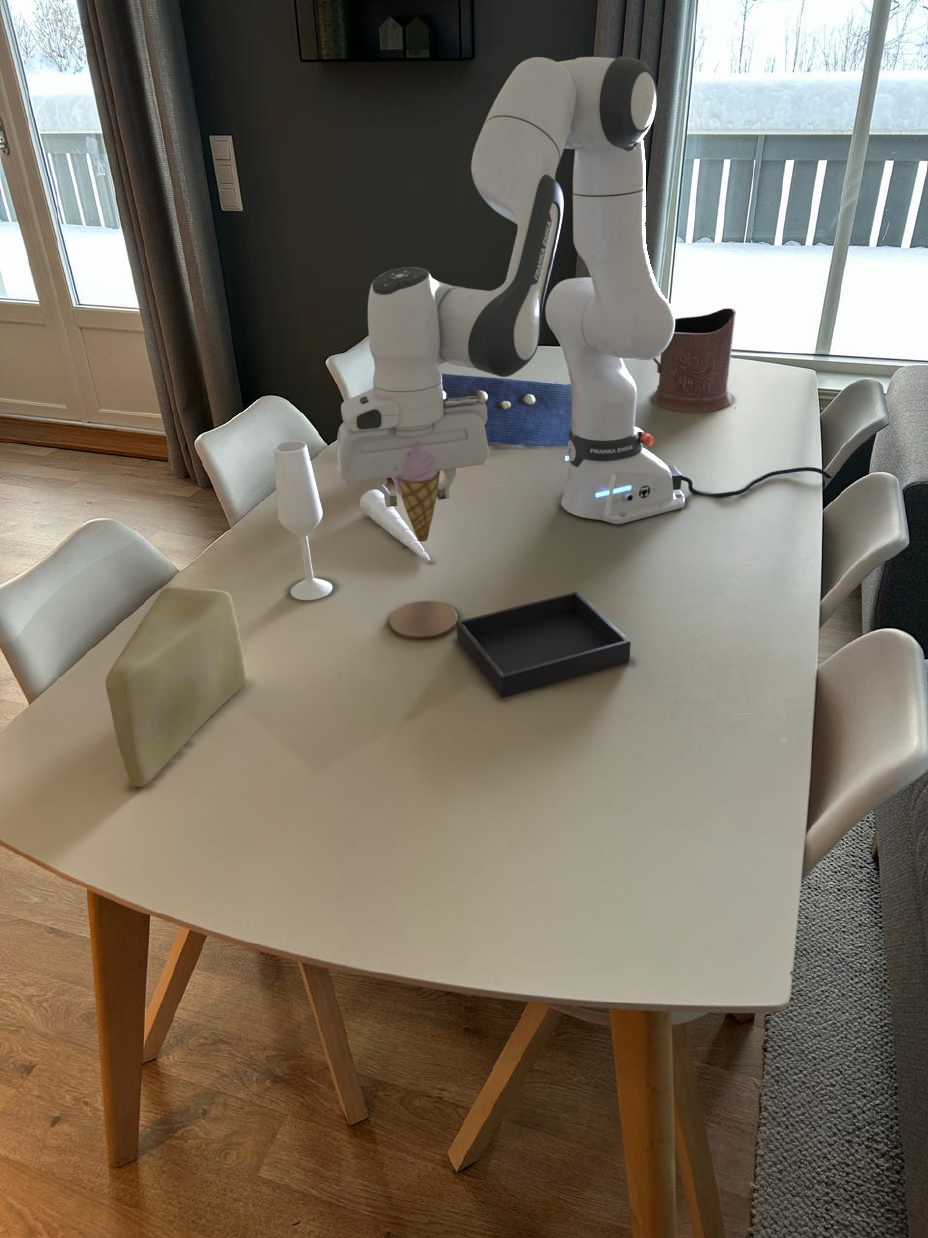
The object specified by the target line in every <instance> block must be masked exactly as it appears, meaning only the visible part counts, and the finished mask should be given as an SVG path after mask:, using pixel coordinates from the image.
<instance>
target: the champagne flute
mask: <svg viewBox="0 0 928 1238" xmlns="http://www.w3.org/2000/svg"><path fill="white" fill-rule="evenodd" d="M307 445H308V444H307V443H306V442H305V441H302V440H284V441H282V442H278V443H277V444H275V445H274V446H273V458H274V460H273V461H274V473H275V474H274V475H275V478H274V479H275V490H276V494H275V495H276V510H277V520H278V521H279V523H280V525H282V527H283V528H285V529H286V530H287V531H288V532H290V533H292V534H293V535H295V536H298V537H299V542H300V549H301V553H302V554H301V555H302V560H303V561H302V562H303V568H304V574H305V579H304V580H302V581H300V582H298V583H296V584H294V585H293V586H292V587H291V589H290V595H291V596H292V597H293V598H294V599H296V600H300V601H314V600H318V599H321V598H324V597H326V596H328V595H330V594H331V592H332V591H333V585H332V583H331V582H329V581H327V580H324V579H320V578H316V577H314V572H313V565H312V558H311V551H310V544H309V538H308V537H309V536H308V535H310V534H311V533H313V531H314V530H315V529H316V528H317V527H318V525H319V524H320V522H321V520H322V518H323V508H322V504H321V501H320V496H319V492H318V488H317V484H316V479H315V475H314V470H313V467H312V462H311V458H310V454H309V450H308V446H307Z"/></svg>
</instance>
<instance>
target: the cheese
mask: <svg viewBox="0 0 928 1238" xmlns="http://www.w3.org/2000/svg"><path fill="white" fill-rule="evenodd" d="M233 603H234V602H233V599H232V596H231V594H230V593H229V592H228V591H225V590H219V589H208V588H207V589H205V588H193V587H179V586H178V587H177V586H171V587H170V586H169V587H165V588H163V589H162V590H161V591H160V592H159V594H158V596H157V597H156V599H155V600H154V601H153V603H152V604H151V606H150V608H149V609H148V610H147V612H146V614H145V615H144V616H143V618H142V620H141V621H140V622H139V624H138V626H137V627H136V629H135V630H134V633H133V634H132V635H131V637H130V638H129V639H128V641H127V643H126V645H125V646H124V647H123V650H122V651H121V652H120V654H119V656H118V657H117V659H116V661H115V662H114V663H113V665H112V666H111V668H110V669H109V671H108V673H107V674H106V676H105V677H106V678H105V682H104V683H105V690H106V694H107V698H108V703H109V708H110V713H111V719H112V723H113V728H114V733H115V737H116V741H117V745H118V748H119V752H120V755H121V759H122V761H123V764H124V767H125V771H126V773H127V776H128V779H129V782H130V785H131V786H132V787H136V788H144V787H145V786H147V785H148V784H149V783H150V782H151V781H153V779H154V778H155V777H156V776H157V775H158V774H159V773H160V772H161V770H162V769H163V768H164V767H165V766H166V765H167V764H168V763H169V762H170V761H171V760H172V759H173V757H175V755H176V754H177V753H178V752H180V750H181V749H182V748H183V747H184V746H185V744H186V743H187V742H189V740H190V739H191V738H192V737H193V736H194V735H195V734H196V733H197V732H198V731H199V730H200V729H201V728H202V727H203V725H205V724H206V723H207V721H208V720H210V719H211V717H212V716H213V715H215V714H216V713H217V712H218V711H219V710H220V709H221V708H222V707H223V706H224V705H225V704H227V702H229V700H230V699H231V698H232V697H234V696H235V695H236V694H237V693H238V692H239V691H240V690H241V689H243V687H245V685H246V684H247V673H246V668H245V661H244V655H243V648H242V643H241V636H240V632H239V626H238V622H237V617H236V613H235V607H234V604H233Z"/></svg>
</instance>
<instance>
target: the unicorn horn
mask: <svg viewBox="0 0 928 1238" xmlns="http://www.w3.org/2000/svg"><path fill="white" fill-rule="evenodd" d="M359 507H360V510H361V511H362V513H364V514H365V515H366V516H368V517H369V518H370V519H372V521H374V523H377V524H378V526H380V527H381V528H383V529H384V531H386V532H387V533H389V534H390V535H391V536H392V537H393V538H395V539H396V540H397V541H399V542H400V543H402V544H403V545H404V546H406V547H407V548H408V549H410V550H411V551H412V552H414V553H415V554H417V555H418V556H419V557H421V558H423V559H424V560H427V561H430V560H431V558H430V557H429V555H428V553H427V552H426V550H425V549H424V547H423V546H422V544H421V543H420V541H418V539H417V537H416V535H414V534H415V533H413V532H412V530H411V529H410V528H409V526H408V525H407V523H406V522H405V521H404V520H403V518H402V517H401V516H400V514H399V513H398V512H397V510H395V508H394V506H393V507H386V505H385V500H384V495H383V493H382V492H381V491H380V489H370V490H367V491H366V492H364V493H363V495H362V496H361V497H360V500H359Z"/></svg>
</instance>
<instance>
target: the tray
mask: <svg viewBox="0 0 928 1238" xmlns="http://www.w3.org/2000/svg"><path fill="white" fill-rule="evenodd" d="M456 637H457V638H456V639H457V643H458V644H459V645H460V646H461V648H462V649H463V650H464V651H465V653H466V654H467V656H468V657H469V658H470V659H471V661H472V662H473V663H474V665H475V666H476V667H477V669H478V670H479V671H480V672H481V674H482V675H483V677H485V679H486V681H488V683H489V684H490V685H491V687H492V688H493V689H494V691H495V692H496V693H497V695H498V696H499V697H500V698H501V699H504V698H508V697H511V696H515V695H519V694H521V693H525V692H529V691H531V690H535V689H539V688H543V687H546V686H549V685H554V684H557V683H561V682H564V681H567V680H570V679H574V678H578V677H581V676H584V675H588V674H592V673H595V672H599V671H601V670H605V669H609V668H612V667H616V666H619V665H623V664H627V663H630V657H631V645H632V643H631V640H629V638H627V636H626V635H624V633H622V632H621V631H620V630H619V629H618V628H617V627H616V626H614V625H613V623H611V622H610V621H609V620H608V619H607V618H606V617H605V616H603V614H602V613H600V611H598V609H596V608H595V607H594V606H593V605H592V604H591V603H590V602H589V601H588V600H587V599H585V597H583V596H582V595H581V594H580V592H578V591H577V590H575V591H573V592H567V593H564V594H560V595H557V596H553V597H552V596H551V597H549V598H545V599H540V600H537V601H533V602H529V603H525V604H521V605H517V606H513V607H508V608H504V609H500V610H497V611H493V612H488V613H485V614H481V615H476V616H473V617H468V618H465V619H462V620H457V622H456Z"/></svg>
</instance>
